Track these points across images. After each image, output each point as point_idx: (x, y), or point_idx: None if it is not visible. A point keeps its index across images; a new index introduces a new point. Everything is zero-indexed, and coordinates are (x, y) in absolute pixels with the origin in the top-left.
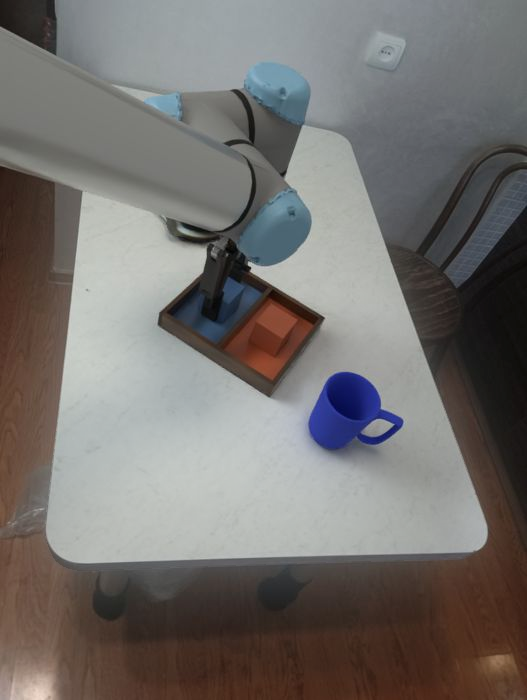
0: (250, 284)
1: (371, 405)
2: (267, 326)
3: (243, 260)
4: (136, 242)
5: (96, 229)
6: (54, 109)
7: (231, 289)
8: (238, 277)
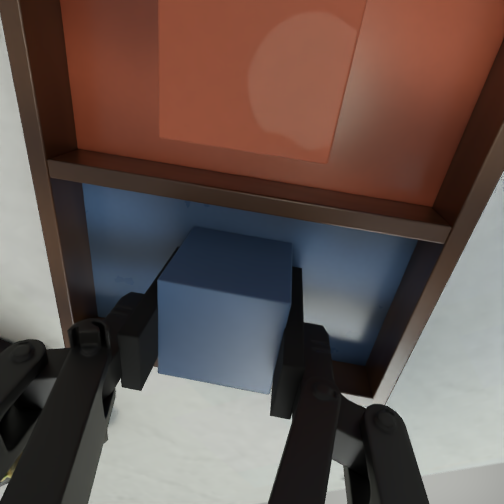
0: (83, 230)
1: None
2: (329, 88)
3: (89, 424)
4: (173, 455)
5: (196, 501)
6: None
7: (209, 317)
8: (147, 330)
